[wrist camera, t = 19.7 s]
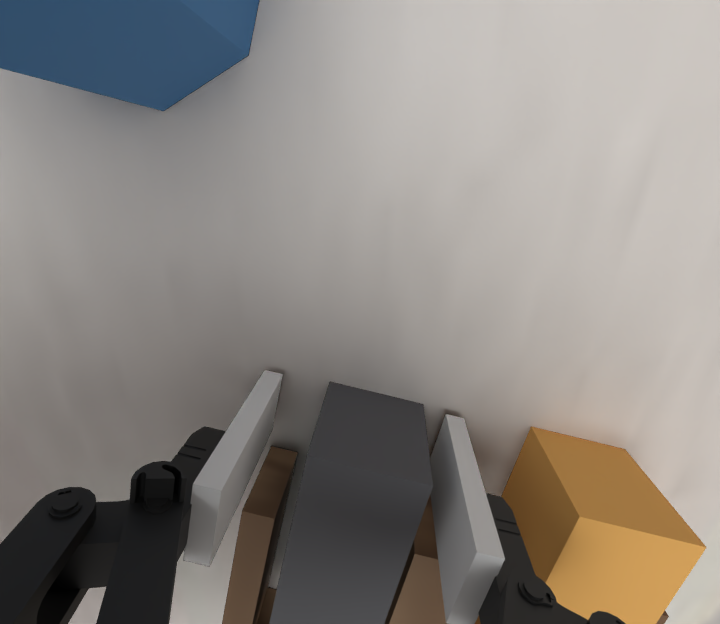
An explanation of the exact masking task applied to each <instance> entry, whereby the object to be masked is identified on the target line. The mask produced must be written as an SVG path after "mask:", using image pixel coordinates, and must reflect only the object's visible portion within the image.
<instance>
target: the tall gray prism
mask: <svg viewBox="0 0 720 624" xmlns="http://www.w3.org/2000/svg"><path fill="white" fill-rule="evenodd" d="M432 488H433V481H432V473H431V464H430V456H429V448H428V440H427V431H426V423H425V415H424V407H423V404H420V403H416V402H412V401H408V400H404V399H400V398H395V397H391V396H387V395H383V394H379V393H375V392H371V391H367V390H363V389H358V388H354V387H350V386H346V385H342V384H338V383H334V382H330V383H329V386H328V389H327V393H326V396H325V399H324V402H323V405H322V409H321V412H320V415H319V418H318V421H317V425H316V428H315V431H314V434H313V438H312V441H311V444H310V447H309V450H308V454H307V457H306V462H305V466H304V471H303V475H302V480H301V484H300V489H299V493H298V498H297V502H296V506H295V511H294V515H293V520H292V524H291V529H290V533H289V538H288V542H287V547H286V551H285V556H284V560H283V564H282V569H281V573H280V578H279V582H278V587H277V591H276V596H275V600H274V605H273V609H272V614H271V618H270V622H269V624H384V623H385V620H386V617H387V615H388V612H389V609H390V606H391V603H392V601H393V598H394V595H395V592H396V589H397V586H398V584H399V581H400V578H401V575H402V572H403V569H404V567H405V564H406V561H407V558H408V555H409V553H410V550H411V547H412V544H413V541H414V538H415V536H416V533H417V530H418V527H419V524H420V521H421V519H422V516H423V513H424V510H425V507H426V505H427V502H428V499H429V496H430V493H431V490H432Z"/></svg>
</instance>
